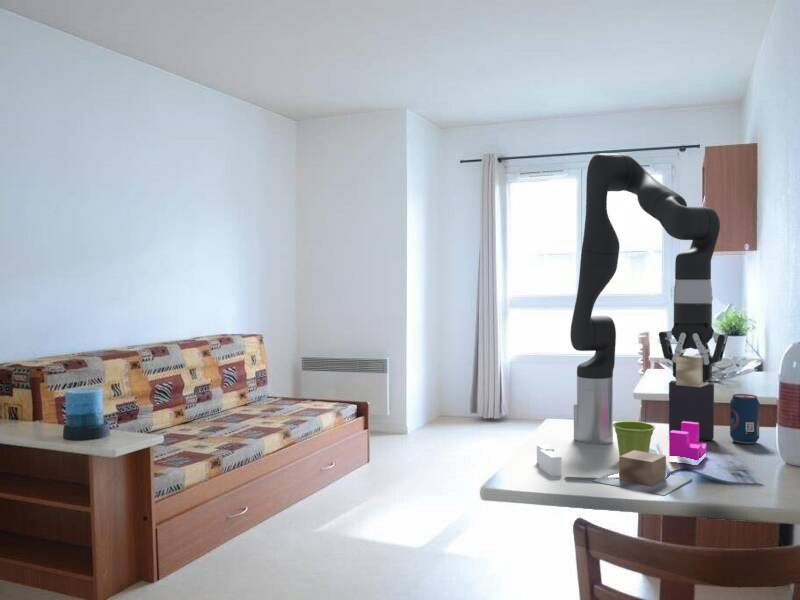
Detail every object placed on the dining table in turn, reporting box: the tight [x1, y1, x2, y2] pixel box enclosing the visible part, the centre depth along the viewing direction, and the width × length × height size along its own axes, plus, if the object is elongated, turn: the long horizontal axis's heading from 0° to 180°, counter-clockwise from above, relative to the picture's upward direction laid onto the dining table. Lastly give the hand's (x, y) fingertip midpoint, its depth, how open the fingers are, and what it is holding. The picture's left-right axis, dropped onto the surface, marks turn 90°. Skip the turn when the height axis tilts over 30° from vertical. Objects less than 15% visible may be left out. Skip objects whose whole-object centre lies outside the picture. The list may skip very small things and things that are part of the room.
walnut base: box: [592, 450, 693, 497], centre depth 147 cm, size 15×15×6 cm
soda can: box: [729, 393, 761, 444], centre depth 184 cm, size 7×7×12 cm
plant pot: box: [613, 420, 656, 456], centre depth 164 cm, size 9×9×9 cm
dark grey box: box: [668, 380, 715, 441], centre depth 189 cm, size 11×4×15 cm, turn 63°
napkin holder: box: [536, 443, 563, 477], centre depth 157 cm, size 15×11×6 cm
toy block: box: [668, 421, 707, 460], centre depth 168 cm, size 15×6×8 cm, turn 147°
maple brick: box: [675, 354, 709, 387], centre depth 149 cm, size 5×5×6 cm
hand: (692, 380), depth 149 cm, fingers closed on maple brick, 5 cm apart
